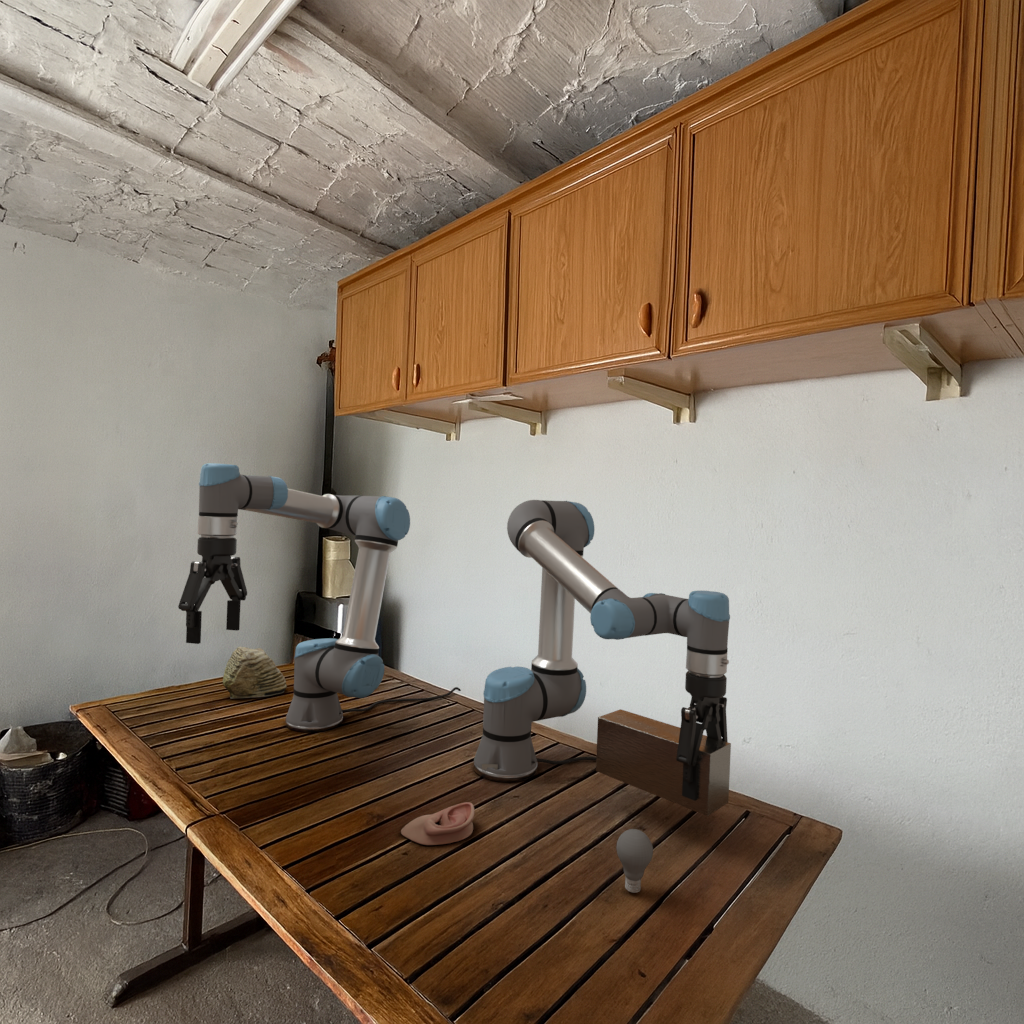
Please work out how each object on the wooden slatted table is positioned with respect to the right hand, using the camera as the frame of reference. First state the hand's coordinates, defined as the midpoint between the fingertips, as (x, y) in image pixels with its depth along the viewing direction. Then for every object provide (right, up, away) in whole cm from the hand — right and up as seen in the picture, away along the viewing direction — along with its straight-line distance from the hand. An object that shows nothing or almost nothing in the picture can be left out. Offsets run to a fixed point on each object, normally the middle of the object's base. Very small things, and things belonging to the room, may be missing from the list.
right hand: (701, 790), depth 121 cm
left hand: (-100, +27, +13) cm, 104 cm away
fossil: (-117, -4, +77) cm, 140 cm away
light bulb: (-16, -10, -16) cm, 25 cm away
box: (-7, -2, +7) cm, 9 cm away
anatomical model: (-51, -8, +1) cm, 51 cm away
